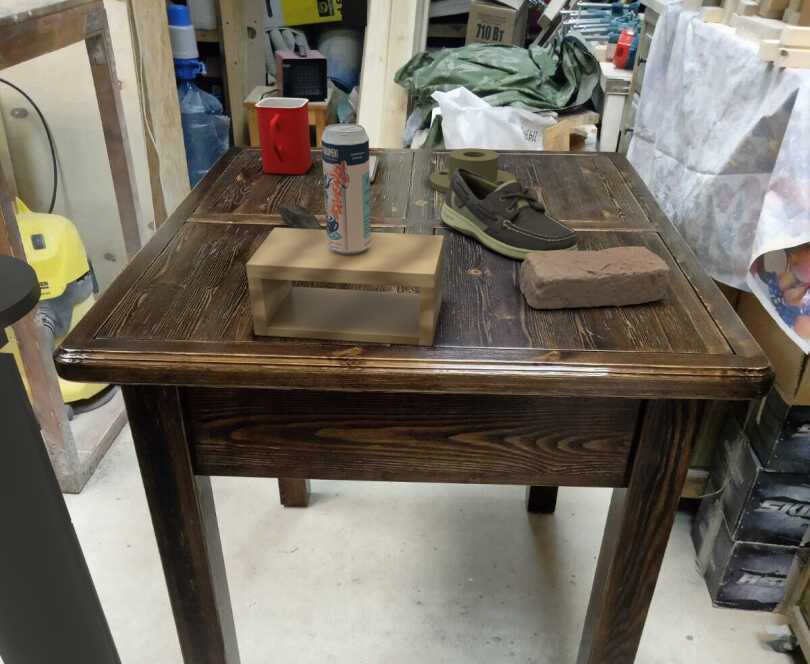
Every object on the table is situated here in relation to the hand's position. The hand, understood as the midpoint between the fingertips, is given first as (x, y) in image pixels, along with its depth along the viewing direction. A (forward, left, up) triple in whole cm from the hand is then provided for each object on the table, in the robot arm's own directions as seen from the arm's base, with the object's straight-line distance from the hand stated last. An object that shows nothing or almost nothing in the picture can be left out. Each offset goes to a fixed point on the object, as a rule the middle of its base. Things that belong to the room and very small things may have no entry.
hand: (355, 22), depth 87 cm
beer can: (+2, -20, -19) cm, 27 cm away
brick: (+30, -9, -27) cm, 41 cm away
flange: (+13, +38, -27) cm, 49 cm away
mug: (-21, +41, -27) cm, 54 cm away
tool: (-7, +5, -27) cm, 28 cm away
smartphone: (-8, +42, -27) cm, 51 cm away
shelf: (+2, -20, -27) cm, 33 cm away
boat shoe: (+19, +9, -27) cm, 34 cm away
